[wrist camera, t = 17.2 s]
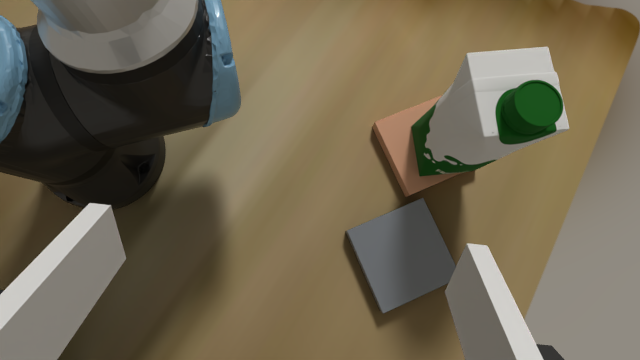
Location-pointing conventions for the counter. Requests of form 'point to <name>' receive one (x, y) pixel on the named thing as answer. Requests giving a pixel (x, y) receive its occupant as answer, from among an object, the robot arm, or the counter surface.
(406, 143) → the terracotta tile
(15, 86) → the robot arm
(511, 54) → the soya milk
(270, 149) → the counter surface
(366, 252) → the slate tile
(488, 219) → the counter surface
